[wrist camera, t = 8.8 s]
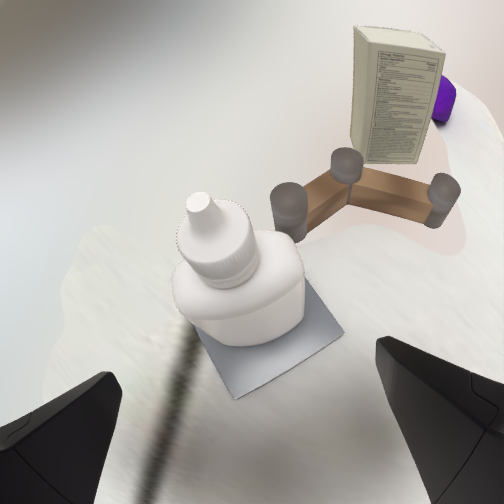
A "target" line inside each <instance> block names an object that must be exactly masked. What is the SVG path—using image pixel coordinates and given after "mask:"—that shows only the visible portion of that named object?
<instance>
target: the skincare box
mask: <svg viewBox="0 0 504 504" xmlns="http://www.w3.org/2000/svg"><path fill="white" fill-rule="evenodd" d="M353 27H354V70H353V98H352V114H351V128H350V137H351V141H352V144H353V147H354V149H355V150H357V151H358V152H359V153H361V155H362V156H363V158H364V164H416V163H417V161H418V158H419V155H420V152H421V149H422V146H423V143H424V140H425V136H426V133H427V130H428V126H429V123H430V119H431V116H432V112H433V108H434V104H435V101H436V97H437V93H438V88H439V84H440V79H441V75H442V70H443V65H444V60H445V55H446V53H445V52H444V51H442V50H441V49H440V48H439V47H438V46H437V45H436V44H434V43H433V42H432V41H431V40H429V39H428V38H427V37H426V36H424V35H423V34H422V33H418V32H412V31H406V30H399V29H392V28H384V27H383V28H382V27H372V26H359V25H354V26H353Z"/></svg>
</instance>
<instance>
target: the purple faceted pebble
mask: <svg viewBox="0 0 504 504" xmlns="http://www.w3.org/2000/svg"><path fill="white" fill-rule="evenodd" d="M455 98H456V89H455V87H454V86H453V84H452V83H451V82H450V81H449V80H448V79H447V78H446V77H444V76H443V75H441V79H440V84H439V88H438V93H437V97H436V101H435V104H434V108H433V112H432V116H431V118H433V119H436V120H439V121H442V122H447V121H448V119H449V117H450V115H451V112H452V108H453V105H454V102H455Z"/></svg>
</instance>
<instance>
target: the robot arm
mask: <svg viewBox="0 0 504 504" xmlns="http://www.w3.org/2000/svg"><path fill="white" fill-rule="evenodd" d="M375 360H376V366H377V369H378V372H379V375H380V378H381V381H382V384H383V387H384V390H385V393H386V396H387V399H388V402H389V405H390V407H391V409H392V411H393V414H394V416H395V418H396V420H397V422H398V425H399V427H400V429H401V431H402V433H403V436H404V438H405V440H406V442H407V445H408V447H409V449H410V452H411V454H412V456H413V459H414V461H415V464H416V466H417V468H418V471H419V473H420V476H421V478H422V481H423V483H424V486H425V488H426V491H427V493H428V496H429V499H430V501H431V504H504V384H502V383H499V382H496V381H493V380H491V379H488V378H486V377H483V376H480V375H478V374H476V373H473V372H471V373H470V371H468V370H466V369H464V368H461V367H459V366H457V365H454V364H452V363H450V362H447V361H445V360H443V359H441V358H438V357H436V356H434V355H431V354H429V353H427V352H425V351H422V350H420V349H418V348H416V347H413V346H411V345H409V344H406V343H404V342H402V341H400V340H398V339H395V338H393V337H391V336H385V337H382V338H378V339H377V341H376V358H375ZM121 398H122V389H121V387H120V385H119V383H118V381H117V379H116V377H115V376H114V374H113V373H112V372H105V371H103V372H100V373H98V374H97V375H95V376H93V377H92V378H90V379H88V380H86V381H85V382H83V383H81V384H80V385H78V386H76V387H74V388H73V389H71V390H69V391H67V392H66V393H64V394H62V395H60V396H59V397H57V398H55V399H53V400H52V401H50V402H48V403H46V404H45V405H43V406H41V407H39V408H38V409H36V410H34V411H33V412H30V413H28V414H27V415H25V416H23V417H21V418H19V419H17V420H15V421H13V422H11V423H9V424H7V425H4V426H2V427H0V504H94V500H95V496H96V492H97V488H98V484H99V481H100V477H101V473H102V470H103V466H104V463H105V459H106V456H107V452H108V449H109V446H110V443H111V439H112V436H113V433H114V430H115V426H116V421H117V417H118V412H119V407H120V403H121Z"/></svg>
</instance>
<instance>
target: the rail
mask: <svg viewBox="0 0 504 504" xmlns="http://www.w3.org/2000/svg"><path fill="white" fill-rule="evenodd" d="M363 164H364V158H363V156H362V155H361V153H359V152H358V151H357V150H355V149H352V148H338V149H336V150H335V151H334V152H333V153H332V156H331V169H330V170H328V171H327V172H325V173H324V174H322V175H321V176H319V177H317V178H316V179H314V180H313V181H311V182H310V183H308V184H307V185H305V186H304V187H302V186H301V185H299V184H297V183H292V182H287V183H282V184H280V185H278V186H276V187H275V188H274V189H273V190H272V192H271V194H270V201H271V207H272V212H273V218H274V224H275V230H276V231H278V232H282V233H285V234H287V235H289V236H290V237H291V239H292V240H293V241H294V243H298V242H300V241H302V240H303V239H304V238H305V236H306V234H307V233H308V232H310V231H311V230H312V229H314V228H315V227H317V226H318V225H319V224H321V223H322V222H323V221H325V220H326V219H328V218H329V217H330V216H332V215H333V214H334V213H336V212H337V211H338V210H340V209H341V208H343V207H344V206H345V205H348V204H349V205H354V206H358V207H362V208H366V209H370V210H374V211H378V212H382V213H386V214H390V215H393V216H397V217H401V218H404V219H408V220H412V221H415V222H419V223H422V224H424V225H425V226H427V227H429V228H433V229H434V228H439V227H440V226H441V225H442V223H443V221H444V220H445V218H446V217H447V215H448V214H449V212H450V210H451V208H452V207H453V205H454V204H455V202H456V200H457V199H458V197H459V195H460V193H461V189H460V186H459V184H458V182H457V181H456V180H455V179H454V178H453V177H451V176H450V175H448V174H445V173H438V174H436V175H435V176H434V178H433V180H432V182H431V184H430V185H428V184H425V183H422V182H418V181H414V180H411V179H408V178H404V177H400V176H397V175H393V174H389V173H385V172H381V171H377V170H373V169H369V168H365V167H363Z"/></svg>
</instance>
